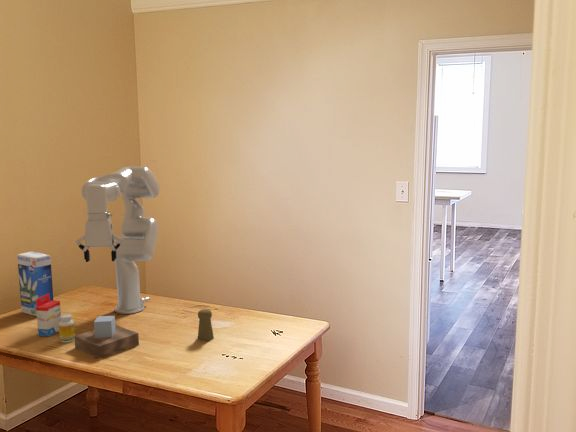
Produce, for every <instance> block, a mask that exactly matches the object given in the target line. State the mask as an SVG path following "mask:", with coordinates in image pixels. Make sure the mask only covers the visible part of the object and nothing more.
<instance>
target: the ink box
mask: <svg viewBox="0 0 576 432" xmlns="http://www.w3.org/2000/svg"><path fill="white" fill-rule="evenodd" d="M43 298H45V300H43V301H41V300H42V299H43ZM36 311H37V316H36V320H37V321H36V322H37V323H36V324H37V333H38V336H39V337H51V336H53V335H54V334H56V333H57V332H59V322H60V321H61V320H60V316H61V315H62V314H61V313H62V311H61V301H60V300H53V301H51V300H50V299H49V293H48V294H46V295H44V296H42V297H40V298H38V299H36Z"/></svg>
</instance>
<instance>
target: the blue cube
mask: <svg viewBox="0 0 576 432" xmlns="http://www.w3.org/2000/svg"><path fill="white" fill-rule="evenodd" d="M115 325H116V316H115V315H103V316H102V315H99V316H97V317H96V318H95V320H94V321H93V330H95V338H107V337H113V335H114V333H115V332H116V328H115Z"/></svg>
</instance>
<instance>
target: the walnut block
mask: <svg viewBox="0 0 576 432" xmlns="http://www.w3.org/2000/svg"><path fill="white" fill-rule="evenodd" d="M115 328H116V332H115V333H114V335H113V337H107V338H95V330H94V329H92V330H90V331H86V332H83V333H79V334H77V335H76V334H75V336H74V339H75V340H74V348H75V349H76V350H78V351H81V352H83V351H84V353H86V354H88V355H91V356H93V357H95V358H97V359H100V360H101V359H103V358H108V357H110V356H112V355H116V354H118V353H121V352H123V351H126V350H130V349H132V348H134V347H137V346H140V341H139V340H140V337H139V333H138V332H136V331H133V330H130V329H129V328H128V329H127V328H125V327H122V326H119V325H117V324H115Z"/></svg>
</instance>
